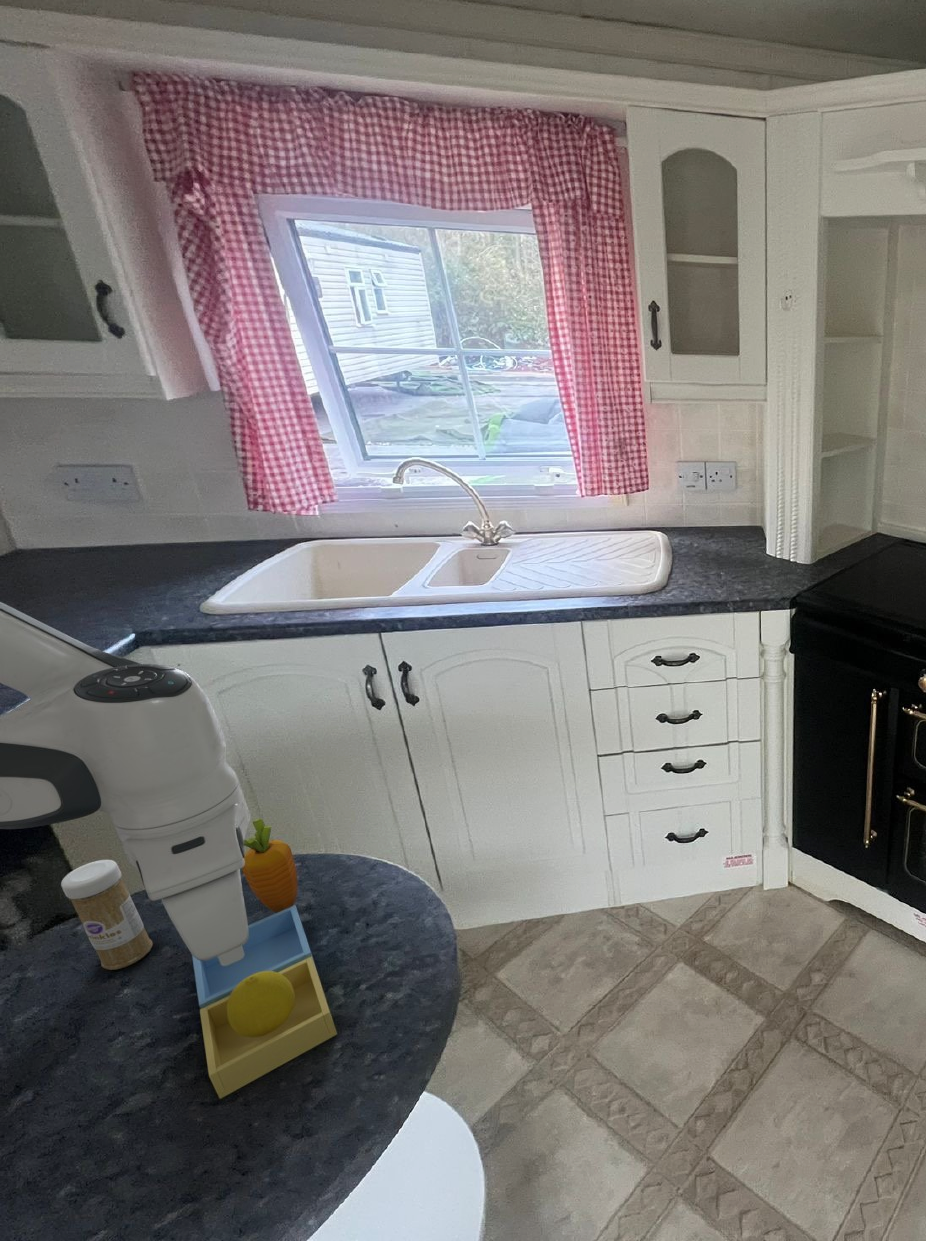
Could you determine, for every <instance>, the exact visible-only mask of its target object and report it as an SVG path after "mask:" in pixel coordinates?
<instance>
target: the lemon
mask: <svg viewBox="0 0 926 1241" xmlns="http://www.w3.org/2000/svg"><path fill="white" fill-rule="evenodd" d="M294 1002H295V993H294V990H293V987H292V985H291V983H290V981H289V980H288V979H287V978H286V977H284V976H283V975H282V974H280V973H278V972H274V971H262V972H258V973H255V974H253V975H250V976H249V977H247V978H245V979H244V980H243V981H241V982H240V983H239V984H238V985H237V986H236V987H235V988H234V990H233V991H232V993H231V995H230V997H229V1000H228V1003H227V1017H228V1021H229V1023H230V1025H231V1026H232V1028H233V1029H234V1030H235V1031H236V1032H237V1033H239V1034H241V1035H243V1036H246V1037H259V1036H263V1035H266V1034H268V1033H271V1032H272V1031H274V1030H276V1029H277V1028H278V1027H280V1026H281V1025H282V1024H283V1023H284V1022H285V1021H286V1020H287V1018H288V1017H289V1015H290V1014H291V1012H292V1009H293V1007H294Z"/></svg>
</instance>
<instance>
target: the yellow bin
mask: <svg viewBox="0 0 926 1241" xmlns="http://www.w3.org/2000/svg"><path fill="white" fill-rule="evenodd" d="M312 957H313V956H312ZM312 957H309V958H307V959H306V960H303V961H301V962H299V963H296V964H294V965H292V966H290V967H288V968H286V969H284V970H282V971H280V972H278V973H280V974H282V975H283V976H284V977H286V978H287V979H288V980H289V981H290V983H291V985H292V987H293V990H294V993H295V1002H294V1007H293V1009H292V1012H291V1014H290V1015H289V1017H288V1018H287V1020H286V1021H285V1022H284V1023H283V1024H282V1025H281V1026H280V1027H278V1028H277V1029H276V1030H274V1031H272V1032H271V1033H268V1034H266V1035H263V1036H259V1037H246V1036H243V1035H241V1034H239V1033H237V1032H236V1031H235V1030H234V1029H233V1028H232V1026H231V1025H230V1023H229V1021H228V1017H227V1003H228V1000H229V997H230V996H228V997H225V998H223V999H221V1000H219V1001H217V1002H215V1003H213V1004H211V1005H209V1006H207V1007H205V1008H202V1009H200V1008H199V1015H200V1022H201V1029H202V1036H203V1043H204V1050H205V1051H204V1052H205V1057H206V1058H205V1059H206V1064H207V1072H208V1077H209V1079H210V1082H211V1083H212V1085H213V1088H214V1090H215V1093H216V1094H217V1096H218V1099H220V1100H221V1099H224V1098H225V1097H226V1096H228V1095H230V1094H232V1093H234V1092H236V1091H237V1090H239V1089H241V1088H243V1087H244V1086H246V1085H249V1084H250V1083H252V1082H254V1081H255V1080H257V1079H259V1078H261V1077H262V1076H264V1075H266V1074H268V1073H270V1072H271V1071H273V1070H275V1069H278V1067H281V1066H283V1065H284V1064H286V1063H288V1062H290V1061H292V1060H293V1059H295V1058H297V1057H298V1056H300V1055H303V1054H304V1053H306V1052H308V1051H310V1050H312V1049H313V1048H315V1047H317V1046H319V1045H320V1044H322V1043H324V1042H326V1041H328V1040H330V1039H331V1038H333V1037H335V1036H337V1035H338V1032H337V1028H336V1026H335V1023H334V1020H333V1017H332V1013H331V1010H330V1007H329V1004H328V1001H327V998H326V994H325V991H324V988H323V985H322V983H321V982H322V981H321V979H320V976H319V972H318V970H316V969H317V966H316V964H314V963H315V961H314V962H313V960H314V958H313V959H312ZM315 966H316V967H315ZM317 972H318V973H317Z"/></svg>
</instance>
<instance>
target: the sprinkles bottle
mask: <svg viewBox="0 0 926 1241" xmlns="http://www.w3.org/2000/svg"><path fill="white" fill-rule="evenodd" d="M122 878H123V876H122V872H121V870H120V867H119V865H118V863H117V862H116V861H115V860H113V859H99V860H95V861H91V862H88V863H85V864H83V865H81V866H78V867H77V868H75V869H73V870H72V871H70V872H68V873H67V874H66V875H65V876H64V877H63V878H62V880H61V883H60V887H61V888H62V891H63V893H64V895H65V897H67V898H68V899H69V900H70V902H71V903H72V905H73V907H74V910H75V912H76V913H77V915H78V917H79V920H80V922H81V923H82V926H83V929H84V931H85V934H86V936H87V938H88V940H89V942H90V943H91V946H92V947H93V949H94V950H95V952H96V954H97V956H98V958H99V960H100V966H101V967H102V968H103V969H105V970H110V971H114V970H119V969H124V968H126V967H129V966H131V965H133V964H136V963H138V961H140V960H141V959H143V958H144V957H145V956H147V955H148V953H149V952H150V951H151V949H152V947H153V945H154V943H153V940H152V939H151V938H149V935H148V933H147V931H146V929H145V926H144V922H143V920H142V918H141V915H140V914H139V912H138V910H137V907H136V905H135V903H134V901H133V899H132V896H131V895H130V892H129V891H128V889H127V887H126V885H125V883H124V881H123V879H122Z"/></svg>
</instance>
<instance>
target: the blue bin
mask: <svg viewBox="0 0 926 1241" xmlns="http://www.w3.org/2000/svg"><path fill="white" fill-rule="evenodd" d="M248 929H249V938H248V941H247V942H246V943H245V944H243V945H242V946H243V950H244V954H245V955H244V957H243V958H242V959H241V960H239V961H237V962H234V963H232V964H230V965H228V966H222V965H221V964H220V962H219V959H218V957H215V958H212V959H210V960H207V961H200V960H198V959H196V958H195V957H194V956H193V955H192V954H191V958H192V964H193V972H194V978H195V986H196V993H197V994H196V995H197V1002H198V1006H199V1010H200V1009H202V1008H205V1007H207V1006H209V1005H211V1004H213V1003H215V1002H217V1001H219V1000H221V999H223V998H225V997H228V996H230V995H231V993H232V991H233V990H234V988H235V987H236V986H237V985H238V984H239V983H240V982H241V981H243V980H244V979H245V978H247V977H249V976H250V975H253V974H255V973H258V972H262V971H274V972H280V971H282V970H284V969H286V968H288V967H290V966H292V965H294V964H296V963H299V962H301V961H303V960H306V959H307V958H309V957H312V959H313V962H314V964H315V959H314V957H313V954H312V950H311V947H310V945H309V941H308V938H307V935H306V932H305V929H304V925H303V923H302V919H301V917H300V913H299V912H298V909H297V906H296V905H295V904H294V905H293V906H292V907H290V908H287V909H285V910H283V911H280V912H278V913H273V914H271V915H269V916H266V917H264V918H262V919H259V920H257V921H255V922H252V923H250V924H248ZM315 967H316V970H317V966H316V964H315ZM317 973H318V974H319V972H318V970H317Z"/></svg>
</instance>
